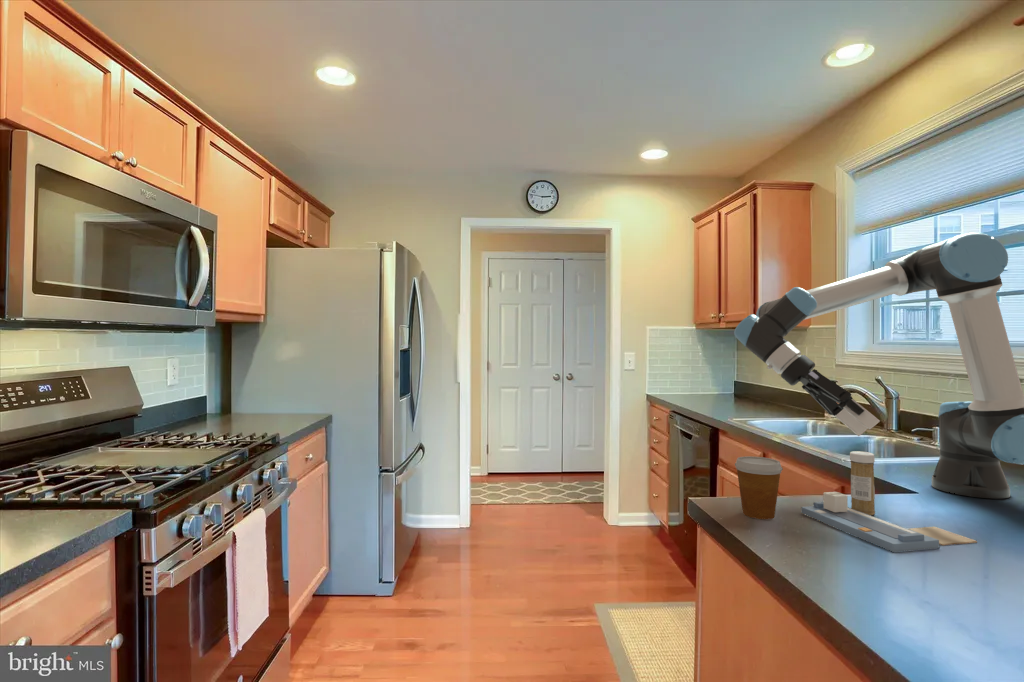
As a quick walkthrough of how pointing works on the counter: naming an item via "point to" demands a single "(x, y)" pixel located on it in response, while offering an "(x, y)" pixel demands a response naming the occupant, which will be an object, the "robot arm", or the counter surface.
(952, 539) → the cork coaster
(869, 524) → the switch board
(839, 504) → the ivory tab
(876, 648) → the counter surface
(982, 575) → the counter surface
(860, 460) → the sprinkles bottle
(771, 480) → the disposable coffee cup
